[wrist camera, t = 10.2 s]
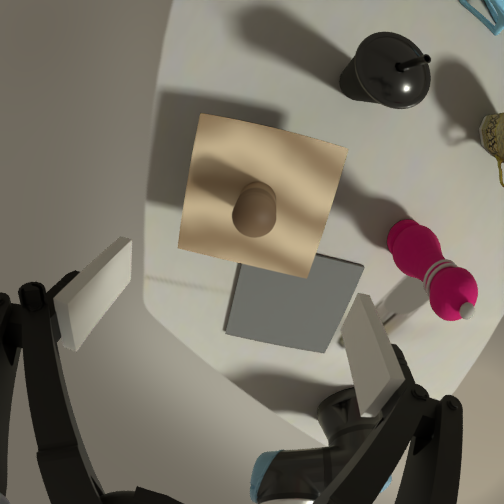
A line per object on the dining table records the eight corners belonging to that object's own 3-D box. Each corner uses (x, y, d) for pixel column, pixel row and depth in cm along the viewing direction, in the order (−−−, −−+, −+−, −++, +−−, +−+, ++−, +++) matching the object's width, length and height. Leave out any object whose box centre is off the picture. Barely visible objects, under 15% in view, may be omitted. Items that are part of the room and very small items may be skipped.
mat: (324, 351, 51) (324, 353, 51) (225, 331, 51) (225, 333, 50) (363, 265, 44) (364, 267, 43) (248, 237, 43) (247, 239, 43)
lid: (306, 273, 37) (311, 307, 31) (180, 244, 37) (161, 271, 30) (346, 148, 30) (364, 155, 24) (202, 113, 30) (184, 112, 23)
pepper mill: (382, 219, 41) (447, 292, 22) (425, 213, 39) (503, 278, 21) (383, 263, 43) (436, 350, 25) (424, 256, 42) (488, 334, 24)
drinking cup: (393, 96, 33) (481, 89, 15) (348, 120, 35) (414, 125, 17) (364, 48, 31) (433, 2, 13) (317, 71, 33) (357, 30, 15)
